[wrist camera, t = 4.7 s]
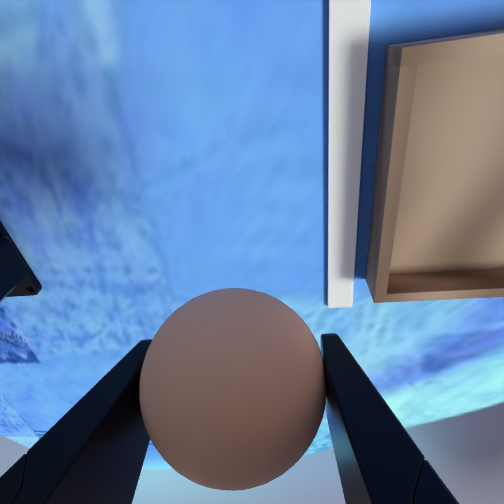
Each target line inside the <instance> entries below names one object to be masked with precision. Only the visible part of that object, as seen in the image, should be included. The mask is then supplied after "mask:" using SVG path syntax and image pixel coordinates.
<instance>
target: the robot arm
mask: <svg viewBox="0 0 504 504" xmlns="http://www.w3.org/2000/svg"><path fill="white" fill-rule="evenodd" d="M41 289H42V286H41V284H40V283H39V281H38V280H37V278H36V276H35V275H34V273H33V272H32V270H31V269H30V267H29V265H28V264H27V262H26V261H25V259H24V258H23V256H22V254H21V253H20V251H19V250H18V248H17V247H16V245H15V243H14V242H13V240H12V239H11V237H10V236H9V234H8V233H7V231H6V229H5V228H4V226H3V225H2V223H1V222H0V302H1V301H2V300H3V299H4V298H5V297H12V296H30V295H37V294H38V293H39V292H40V290H41ZM152 340H153V339H147V340H141V341H140V342H139V343H138V344H137V345H136V346H135V347H134V348H133V349H132V350H131V351H129V352H128V353H127V354H126V355H125V356H124V357H123V358H122V359H121V360H120V361H119V362H118V363H117V364H116V365H115V366H114V367H113V368H112V369H111V370H110V371H109V372H108V373H107V374H106V375H105V376H104V377H103V378H102V379H101V380H100V381H99V382H98V383H97V384H96V385H95V386H94V387H93V388H92V389H91V390H90V391H89V392H88V393H87V394H86V395H84V396H83V397H82V398H81V399H80V400H79V401H78V402H77V403H76V404H75V405H74V406H73V407H72V408H71V409H70V410H69V411H68V412H67V413H66V414H65V415H64V416H63V417H62V418H61V419H60V420H59V421H58V422H57V423H56V424H55V425H54V426H53V427H52V428H51V429H50V430H49V431H48V432H47V433H46V434H45V435H44V436H43V437H42V438H41V439H39V440H38V441H37V442H36V443H35V444H34V445H33V446H32V447H31V448H30V449H29V451H28V452H27V454H24V455H23V456H22V457H21V458H20V459H19V460H18V461H17V462H16V463H15V464H14V465H13V466H12V467H11V468H10V469H9V470H8V471H7V472H5V474H3V475H2V476H1V477H0V504H132V501H133V497H134V494H135V490H136V486H137V483H138V480H139V476H140V473H141V469H142V466H143V462H144V459H145V455H146V452H147V448H148V445H149V441H150V436H149V434H148V432H147V430H146V427H145V424H144V421H143V417H142V413H141V406H140V376H141V370H142V366H143V362H144V359H145V356H146V353H147V350H148V348H149V346H150V344H151V342H152ZM321 354H322V357H323V360H324V366H325V374H326V386H327V394H326V412H327V419H328V424H329V430H330V434H331V439H332V443H333V448H334V452H335V456H336V461H337V465H338V470H339V475H340V479H341V484H342V488H343V493H344V498H345V502H346V504H459V503H458V501H457V500H456V499H455V497H454V496H453V495H452V494H451V492H450V491H449V489H448V488H447V487H446V485H445V484H444V483H443V481H442V480H441V479H440V477H439V476H438V474H437V473H436V472H435V470H434V469H433V467H432V466H431V465H430V463H429V462H428V461H427V460H424V458H425V457H424V455H423V454H422V452H421V451H420V450H419V448H418V447H417V445H416V444H415V443H414V441H413V440H412V438H411V437H410V436H409V434H408V433H407V431H406V430H405V428H404V427H403V426H402V424H401V423H400V421H399V420H398V419H397V417H396V416H395V414H394V413H393V412H392V410H391V409H390V407H389V406H388V405H387V403H386V402H385V400H384V399H383V398H382V396H381V395H380V393H379V392H378V391H377V389H376V388H375V386H374V385H373V384H372V382H371V381H370V379H369V378H368V377H367V375H366V374H365V372H364V371H363V370H362V368H361V367H360V365H359V364H358V363H357V361H356V360H355V358H354V357H353V356H352V354H351V353H350V351H349V350H348V349H347V347H346V346H345V344H344V343H343V342H342V340H341V339H340V337H339V336H338V335H337V334H335V333H328V334H322V335H321Z"/></svg>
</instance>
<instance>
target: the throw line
mask: <svg viewBox="0 0 504 504" xmlns="http://www.w3.org/2000/svg"><path fill="white" fill-rule="evenodd" d="M370 9H371V0H329V94H328V308H339V307H352V303H353V286H354V270H355V254H356V237H357V221H358V205H359V188H360V172H361V156H362V139H363V123H364V107H365V90H366V74H367V58H368V41H369V25H370Z"/></svg>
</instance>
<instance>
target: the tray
mask: <svg viewBox="0 0 504 504" xmlns="http://www.w3.org/2000/svg"><path fill="white" fill-rule="evenodd" d="M366 281H367V284H368V287H369V290H370V293H371V296H372V298H373V301H374V303H381V302H402V301H424V300H445V299H466V298H488V297H504V29H497V30H490V31H483V32H476V33H469V34H462V35H455V36H448V37H441V38H434V39H427V40H420V41H413V42H406V43H399V44H392V45H386V56H385V68H384V79H383V91H382V102H381V113H380V125H379V136H378V148H377V159H376V170H375V182H374V193H373V205H372V216H371V227H370V239H369V250H368V262H367V273H366Z"/></svg>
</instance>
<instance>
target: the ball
mask: <svg viewBox="0 0 504 504" xmlns="http://www.w3.org/2000/svg"><path fill="white" fill-rule="evenodd" d="M326 394H327V386H326V374H325V366H324V360H323V357H322V354H321V351H320V348H319V346H318V343H317V341H316V339H315V338H314V336H313V334H312V332H311V331H310V329H309V327H308V326H307V325H306V324H305V322H304V321H303V320H302V319H301V318H300V316H299V315H298V314H297V313H296V312H294V311H293V310H292V309H291V308H290V307H288V306H287V305H285V304H284V303H283V302H281V301H280V300H278V299H276V298H274V297H272V296H270V295H267V294H265V293H262V292H258V291H254V290H249V289H241V288H228V289H220V290H215V291H211V292H208V293H205V294H203V295H200V296H198V297H196V298H194V299H192V300H190V301H189V302H187V303H186V304H184V305H183V306H181V307H180V308H178V309H177V310H176V311H175V312H174V313H173V314H172V315H171V316H170V317H169V318H168V319H167V320H166V321H165V322H164V323H163V325H162V326H161V327H160V329H159V330H158V331H157V333H156V334H155V336H154V338H153V340H152V342H151V344H150V346H149V348H148V350H147V353H146V356H145V359H144V362H143V366H142V370H141V376H140V406H141V413H142V417H143V421H144V424H145V427H146V430H147V432H148V434H149V436H150V438H151V441H152V443H153V445H154V446H155V448H156V449H157V450H158V452H159V453H160V455H161V456H162V457H163V459H164V460H165V461H166V462H167V463H168V464H169V465H170V466H171V467H172V468H173V469H174V470H176V471H177V472H178V473H180V474H181V475H183V476H184V477H186V478H188V479H189V480H191V481H193V482H195V483H197V484H199V485H202V486H205V487H209V488H213V489H219V490H245V489H249V488H253V487H257V486H260V485H263V484H266V483H268V482H270V481H272V480H273V479H275V478H277V477H279V476H281V475H282V474H283V473H285V472H286V471H287V470H288V469H290V468H291V467H292V466H293V465H294V464H295V463H296V462H297V461H298V460H299V459H300V458H301V457H302V456H303V454H304V453H305V452H306V451H307V449H308V448H309V446H310V444H311V443H312V441H313V439H314V438H315V436H316V434H317V431H318V429H319V426H320V424H321V421H322V418H323V414H324V410H325V404H326Z"/></svg>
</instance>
